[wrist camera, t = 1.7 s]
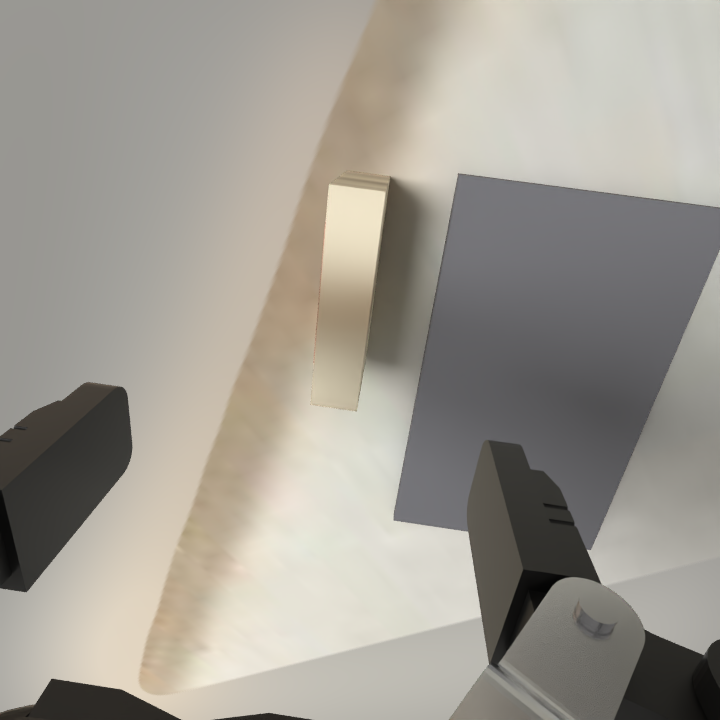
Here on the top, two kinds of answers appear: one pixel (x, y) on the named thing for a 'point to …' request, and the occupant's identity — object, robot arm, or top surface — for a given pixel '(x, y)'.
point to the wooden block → (347, 286)
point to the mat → (550, 339)
